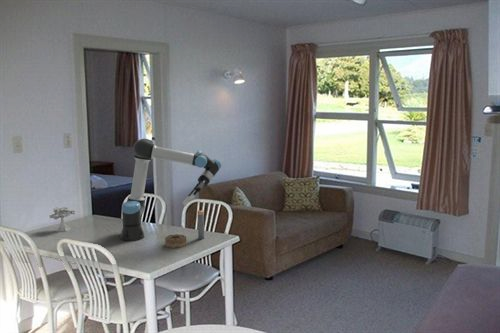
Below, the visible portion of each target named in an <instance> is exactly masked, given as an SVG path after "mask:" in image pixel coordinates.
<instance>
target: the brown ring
mask: <svg viewBox="0 0 500 333" xmlns="http://www.w3.org/2000/svg"><path fill="white" fill-rule="evenodd" d="M164 239H165V241H164V242H165V243H164V244H165V246H166V247H167V248H171V249H178V248H183V247H185V246H187V236H186V235H185V234H177V233H176V234H168V236H166V237H164Z"/></svg>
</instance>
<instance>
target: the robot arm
mask: <svg viewBox="0 0 500 333" xmlns="http://www.w3.org/2000/svg"><path fill="white" fill-rule="evenodd" d="M132 146H133V147H132V150H133V153H134V155H133V158H134V160H135V163H134V170H133V176H132V183H131V184H132V185H131V188H130V190H131V191H130V195H128V196H127V201H125V202H123V203H122V204H121V216H122V217H121V218H122V227H121V228H122V229H121V233H120V240H121V241H125V240H126V241H127V242H128V241H129V242H131V241H133V242H134V241H140V240H142V239H144V238H145V233H144V229H143V227H142V219H141V218H142V215H143V214H144V213H145V210H146V206H145V205H146V204H145V203H146V197H145V189H146V182H147V176H148V169H149V162H151V161H152V160H153V159H158V160H164V161H169V162H175V163H178V164H184V165H188V166H194V167H197V168H203V169H204V171H203V172H201V174H200V176H199V177H198V178H197V183H196V185H195V186H194V188H193V189H192V190H191V192H190V193H189V194H188V195H187V197H186V198H185V199H184V200H183V201H182V205H184V206H187V204H188V203H189V202H190V201H193V200H194V199H195V198H196V196H197V195H198V194H199V192H200V191H202V189H203V187H207V186H208V185H209V184H210V182H211V181H213V178H214V177H215V176H216V175H217V174H218V172H219V171H220V169H221V168H222V163H221V162H220V161H219V160H218V159H214V158H213V159H211V158H210V157H209V156H208V155H207V154H205V153H204V152H203V151H202V150H199V149H198V150H197V151H196V152H195V153H193V152H192V153H191V152H186V151H182V150H176V149H173V148H172V149H171V148H167V147H160V146H157V145H156V144H154V142H153V141H152V139H151V140H150V139H148V138H140V139H139V140H137V141H136V142H135V143H134V144H133V145H132Z"/></svg>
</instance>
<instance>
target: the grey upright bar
mask: <svg viewBox="0 0 500 333" xmlns="http://www.w3.org/2000/svg"><path fill="white" fill-rule="evenodd" d="M197 238H198V240H204V239H205V211H204V210H197Z"/></svg>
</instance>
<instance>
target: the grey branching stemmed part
mask: <svg viewBox="0 0 500 333" xmlns="http://www.w3.org/2000/svg"><path fill="white" fill-rule="evenodd" d="M52 210H53V213H52V214H48V217H49V219H53V220H56V221H57V220H59V219H60V225H59V227H58V228H57V229H56V231H55V232H58V233H61V232H69V231H70V230H71V228H70V227H69V226H68V225H66V224H65V221H64V218H67V217H71V215H72V216H73V215H74V216H75V213H76V211H75V210H73V209H70V208H69V207H67V206H63V207H59V206H58V207H55V208H53V209H52Z"/></svg>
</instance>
